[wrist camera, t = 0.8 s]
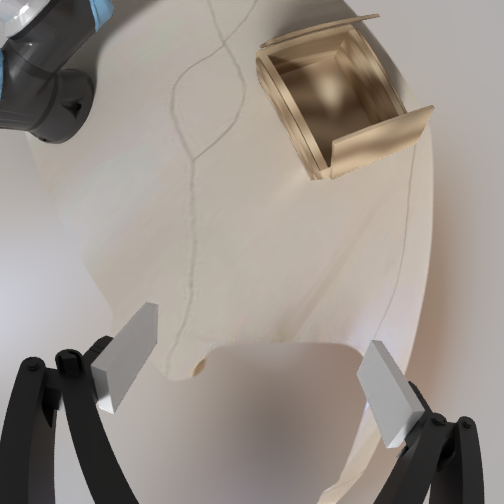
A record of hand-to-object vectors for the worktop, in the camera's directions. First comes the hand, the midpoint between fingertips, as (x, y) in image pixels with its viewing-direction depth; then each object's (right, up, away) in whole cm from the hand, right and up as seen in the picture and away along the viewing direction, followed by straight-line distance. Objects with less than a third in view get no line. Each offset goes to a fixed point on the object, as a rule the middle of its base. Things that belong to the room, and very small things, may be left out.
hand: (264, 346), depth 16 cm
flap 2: (+13, +17, +10) cm, 24 cm away
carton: (+10, +27, +22) cm, 36 cm away
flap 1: (+7, +30, +7) cm, 32 cm away
